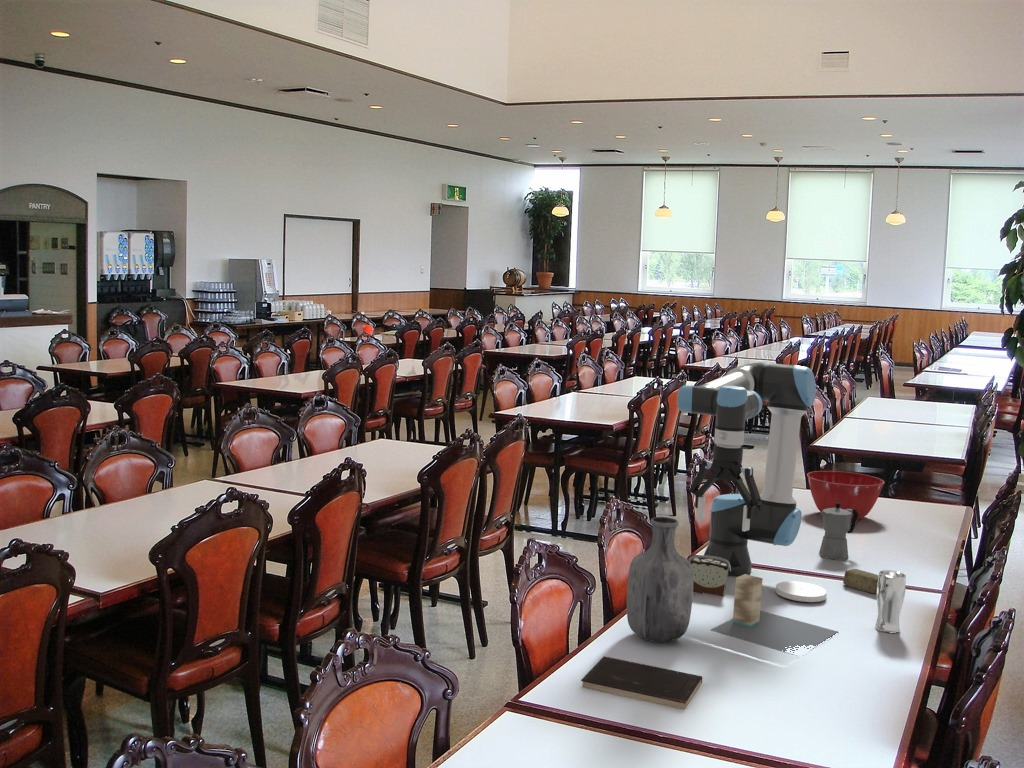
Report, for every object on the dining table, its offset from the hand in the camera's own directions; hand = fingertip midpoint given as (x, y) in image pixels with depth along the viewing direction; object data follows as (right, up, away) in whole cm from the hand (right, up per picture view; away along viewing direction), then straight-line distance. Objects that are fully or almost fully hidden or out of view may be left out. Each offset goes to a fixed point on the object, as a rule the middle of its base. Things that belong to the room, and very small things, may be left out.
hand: (722, 525), depth 269 cm
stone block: (+49, -24, +33) cm, 64 cm away
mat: (+12, -26, -8) cm, 30 cm away
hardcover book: (-27, -30, -45) cm, 60 cm away
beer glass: (+43, -27, -1) cm, 51 cm away
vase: (-20, -26, -16) cm, 36 cm away
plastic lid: (+27, -24, +23) cm, 43 cm away
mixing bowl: (+72, -14, +125) cm, 145 cm away
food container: (+1, -22, +23) cm, 32 cm away
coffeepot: (+51, -20, +68) cm, 87 cm away
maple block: (+5, -25, -3) cm, 26 cm away
